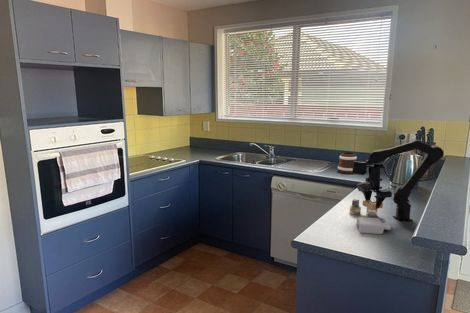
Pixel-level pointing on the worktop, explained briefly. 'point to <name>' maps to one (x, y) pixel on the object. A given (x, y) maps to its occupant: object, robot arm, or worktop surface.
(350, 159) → the brown layered cake
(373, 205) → the washer
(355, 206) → the small brown bottle
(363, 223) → the white plastic bottle
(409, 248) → the worktop surface
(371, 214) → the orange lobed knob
